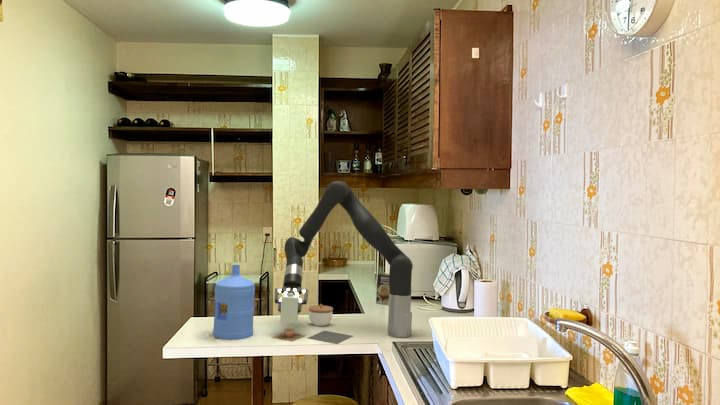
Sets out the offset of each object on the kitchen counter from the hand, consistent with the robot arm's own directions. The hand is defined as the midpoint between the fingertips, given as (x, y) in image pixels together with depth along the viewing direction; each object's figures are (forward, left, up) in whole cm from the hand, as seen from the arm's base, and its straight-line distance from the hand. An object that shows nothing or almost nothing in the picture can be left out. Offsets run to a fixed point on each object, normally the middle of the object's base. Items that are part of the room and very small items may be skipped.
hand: (289, 311), depth 196 cm
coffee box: (-3, -87, -11) cm, 88 cm away
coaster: (+1, -1, -11) cm, 11 cm away
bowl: (+1, -1, -10) cm, 10 cm away
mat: (-13, -10, -11) cm, 20 cm away
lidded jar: (+1, -25, -11) cm, 28 cm away
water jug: (+21, +9, -11) cm, 25 cm away
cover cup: (+1, -1, -4) cm, 4 cm away
